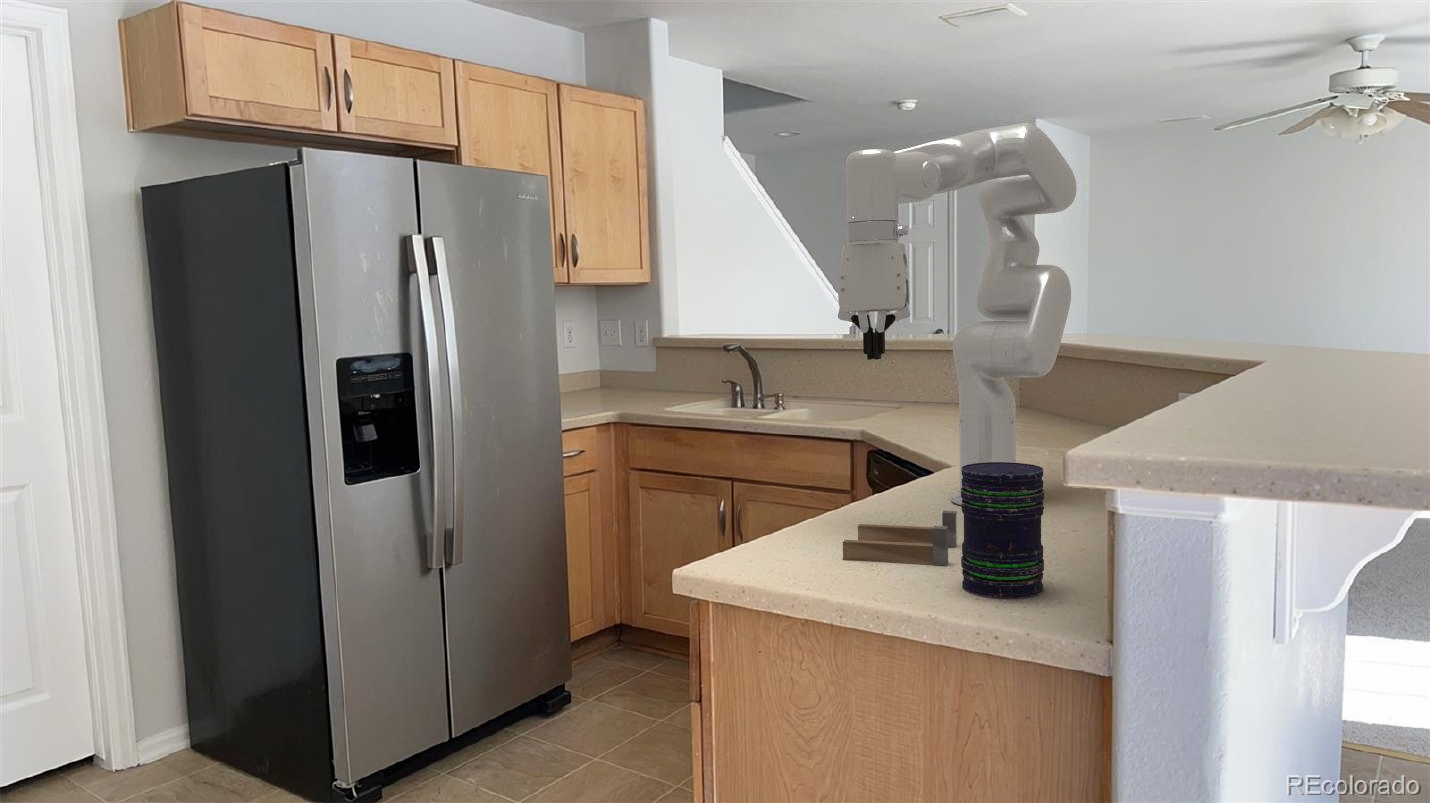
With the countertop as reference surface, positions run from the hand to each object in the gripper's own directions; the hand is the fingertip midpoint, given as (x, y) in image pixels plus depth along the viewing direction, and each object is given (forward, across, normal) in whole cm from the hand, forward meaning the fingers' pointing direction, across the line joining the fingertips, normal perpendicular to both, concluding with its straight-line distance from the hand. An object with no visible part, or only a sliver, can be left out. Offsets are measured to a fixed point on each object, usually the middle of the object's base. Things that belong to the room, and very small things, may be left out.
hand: (874, 358), depth 151 cm
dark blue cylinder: (+27, -20, +24) cm, 41 cm away
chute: (+27, -5, +9) cm, 29 cm away
